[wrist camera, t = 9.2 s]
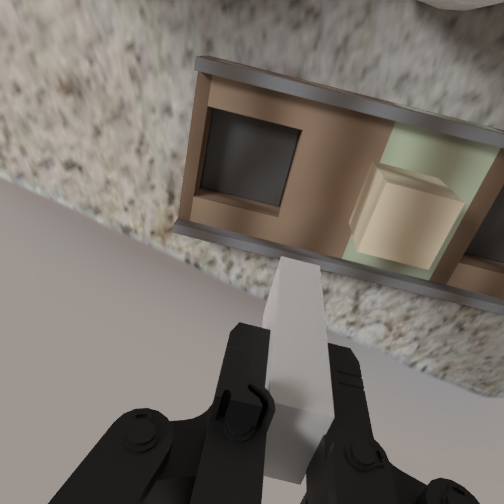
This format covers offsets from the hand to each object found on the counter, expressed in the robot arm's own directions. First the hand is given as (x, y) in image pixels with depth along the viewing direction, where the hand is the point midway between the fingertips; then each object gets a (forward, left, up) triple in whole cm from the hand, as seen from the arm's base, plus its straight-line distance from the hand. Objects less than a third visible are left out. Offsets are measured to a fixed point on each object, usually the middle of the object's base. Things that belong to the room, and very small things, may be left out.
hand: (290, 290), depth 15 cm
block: (+8, 0, -16) cm, 18 cm away
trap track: (+7, 0, -18) cm, 20 cm away
